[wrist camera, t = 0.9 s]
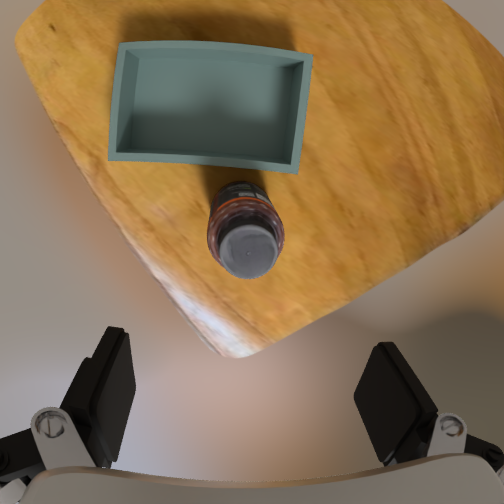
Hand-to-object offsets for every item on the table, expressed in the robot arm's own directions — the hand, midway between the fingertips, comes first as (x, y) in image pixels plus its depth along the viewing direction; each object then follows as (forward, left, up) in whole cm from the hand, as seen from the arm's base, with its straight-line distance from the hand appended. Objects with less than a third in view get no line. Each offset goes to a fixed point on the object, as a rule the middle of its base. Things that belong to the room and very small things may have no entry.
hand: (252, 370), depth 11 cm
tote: (-10, -4, -22) cm, 24 cm away
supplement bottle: (0, 0, -22) cm, 22 cm away
